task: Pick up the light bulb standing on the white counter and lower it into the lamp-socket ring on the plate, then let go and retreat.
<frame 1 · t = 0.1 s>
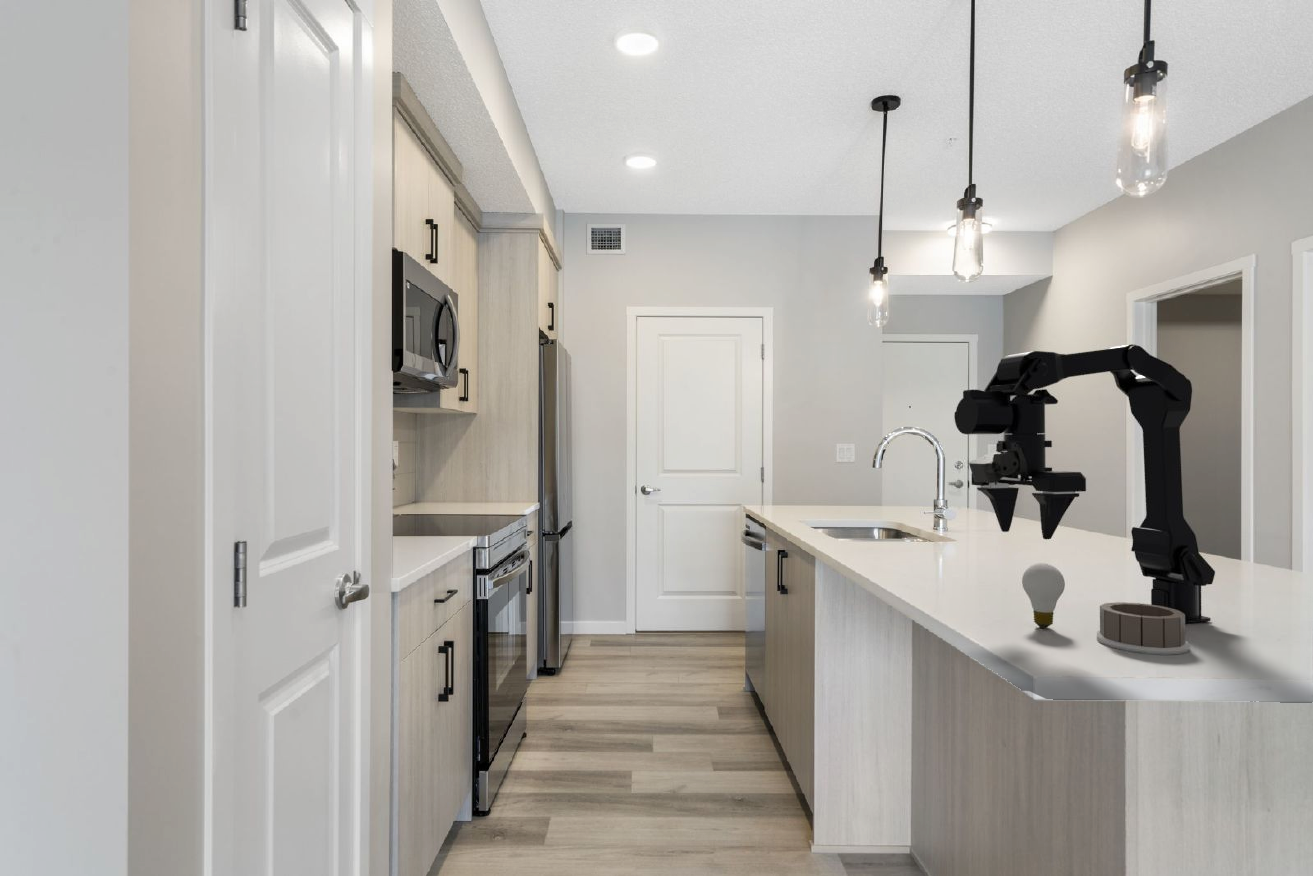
hand: (1025, 535, 115), 14 cm above the countertop, fingers open, 9 cm apart
light bulb: (1043, 629, 116), on the countertop
socket: (1141, 643, 106), on the countertop
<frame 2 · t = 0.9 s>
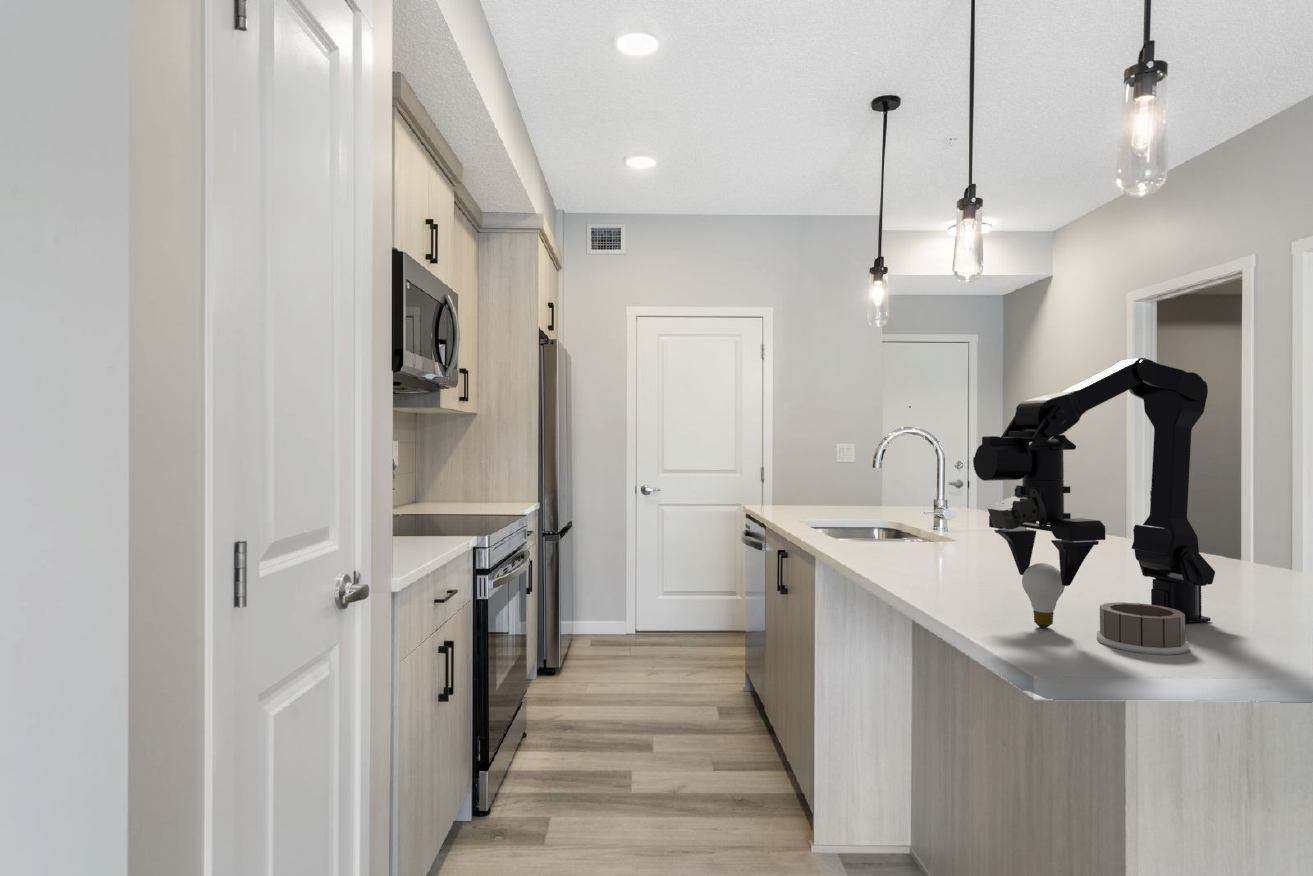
hand: (1043, 580, 116), 7 cm above the countertop, fingers open, 9 cm apart
nothing on the countertop moved.
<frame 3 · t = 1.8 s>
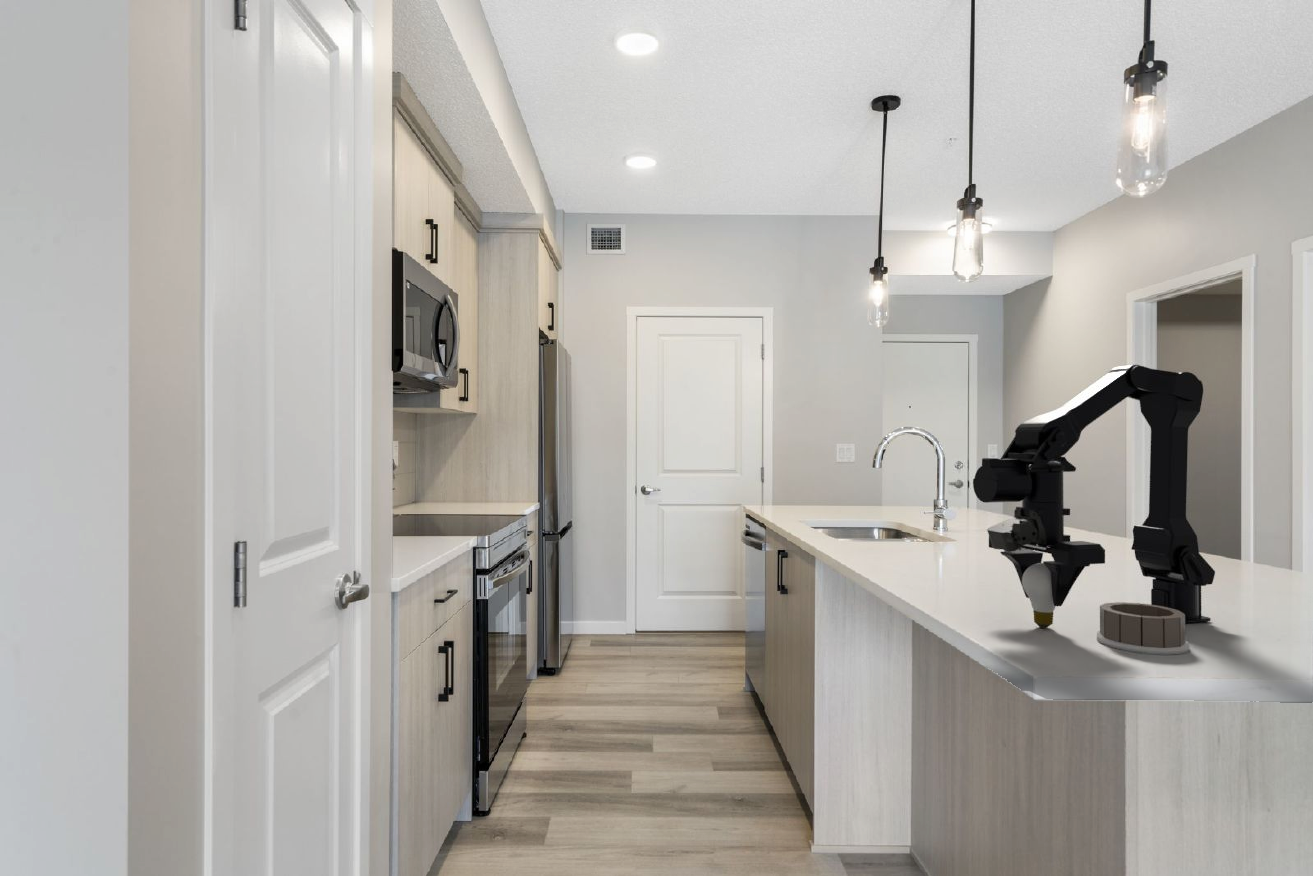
hand: (1043, 601, 116), 4 cm above the countertop, fingers closed on light bulb, 6 cm apart
light bulb: (1043, 629, 116), on the countertop, touching gripper
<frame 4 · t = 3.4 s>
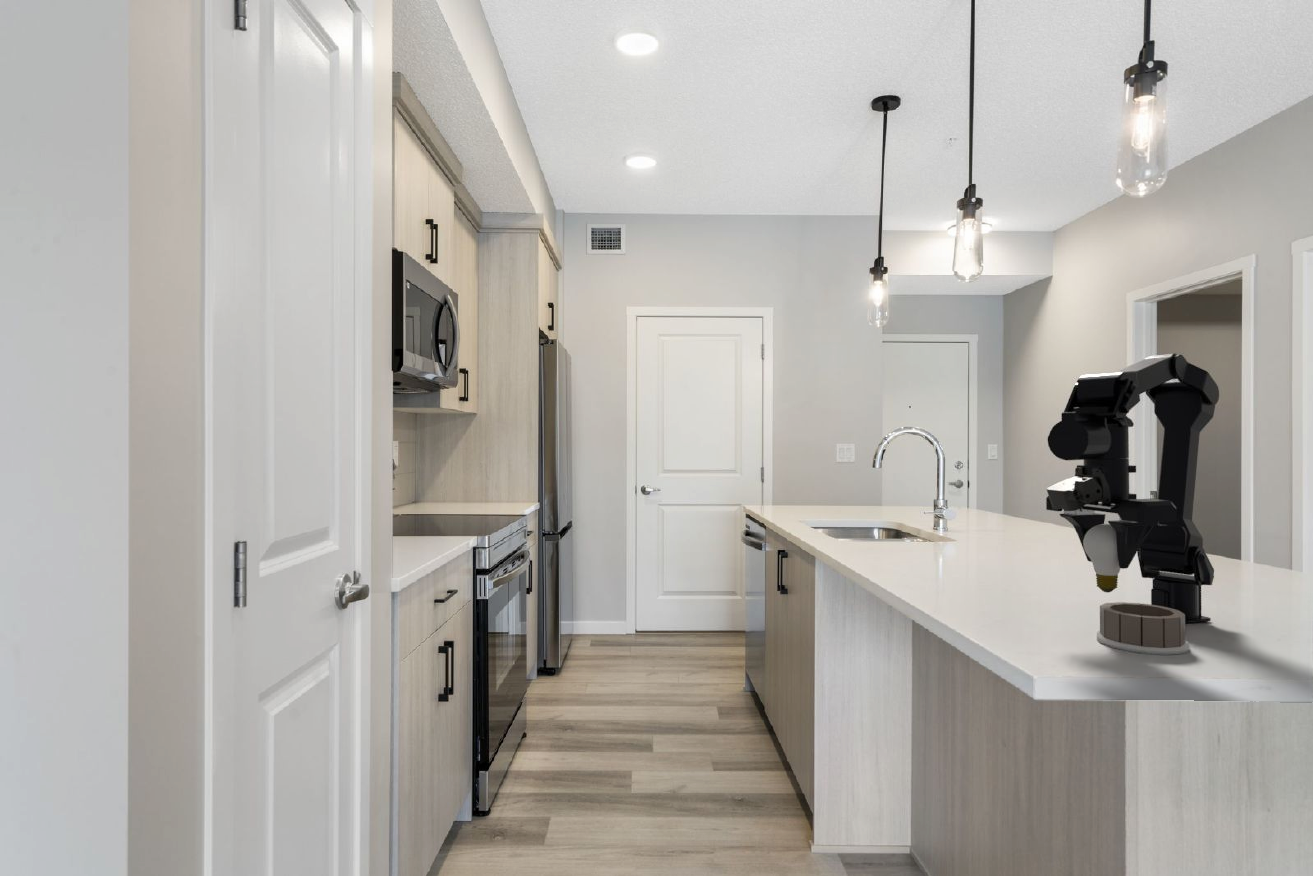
hand: (1107, 564, 109), 11 cm above the countertop, fingers closed on light bulb, 6 cm apart
light bulb: (1107, 593, 109), point 7 cm above the countertop, touching gripper
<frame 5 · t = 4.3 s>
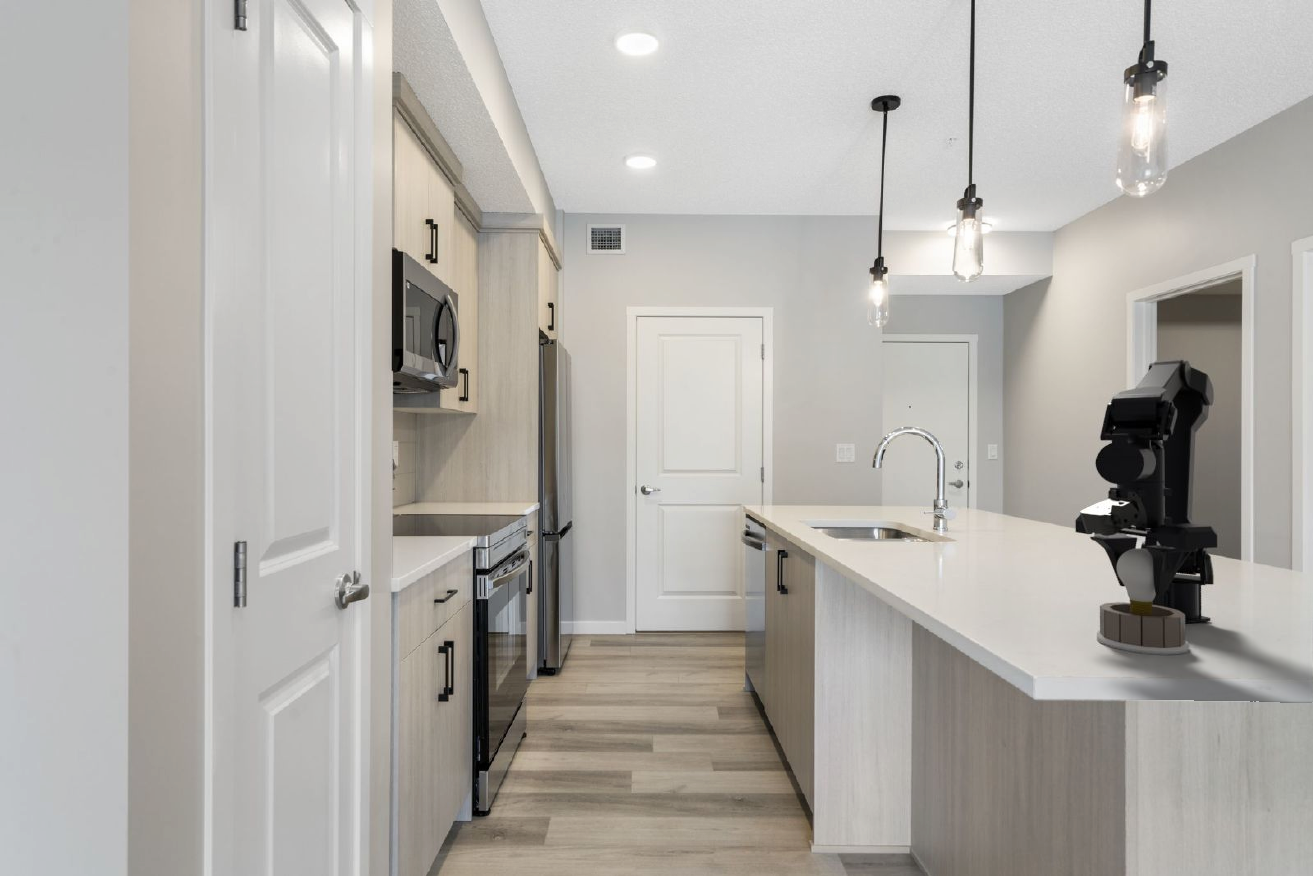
hand: (1141, 590, 106), 8 cm above the countertop, fingers closed on light bulb, 6 cm apart
light bulb: (1141, 619, 106), point 3 cm above the countertop, touching gripper
when the fingers open (6 cm above the countertop, at t = 5.0 s): light bulb drops 1 cm, resting on socket.
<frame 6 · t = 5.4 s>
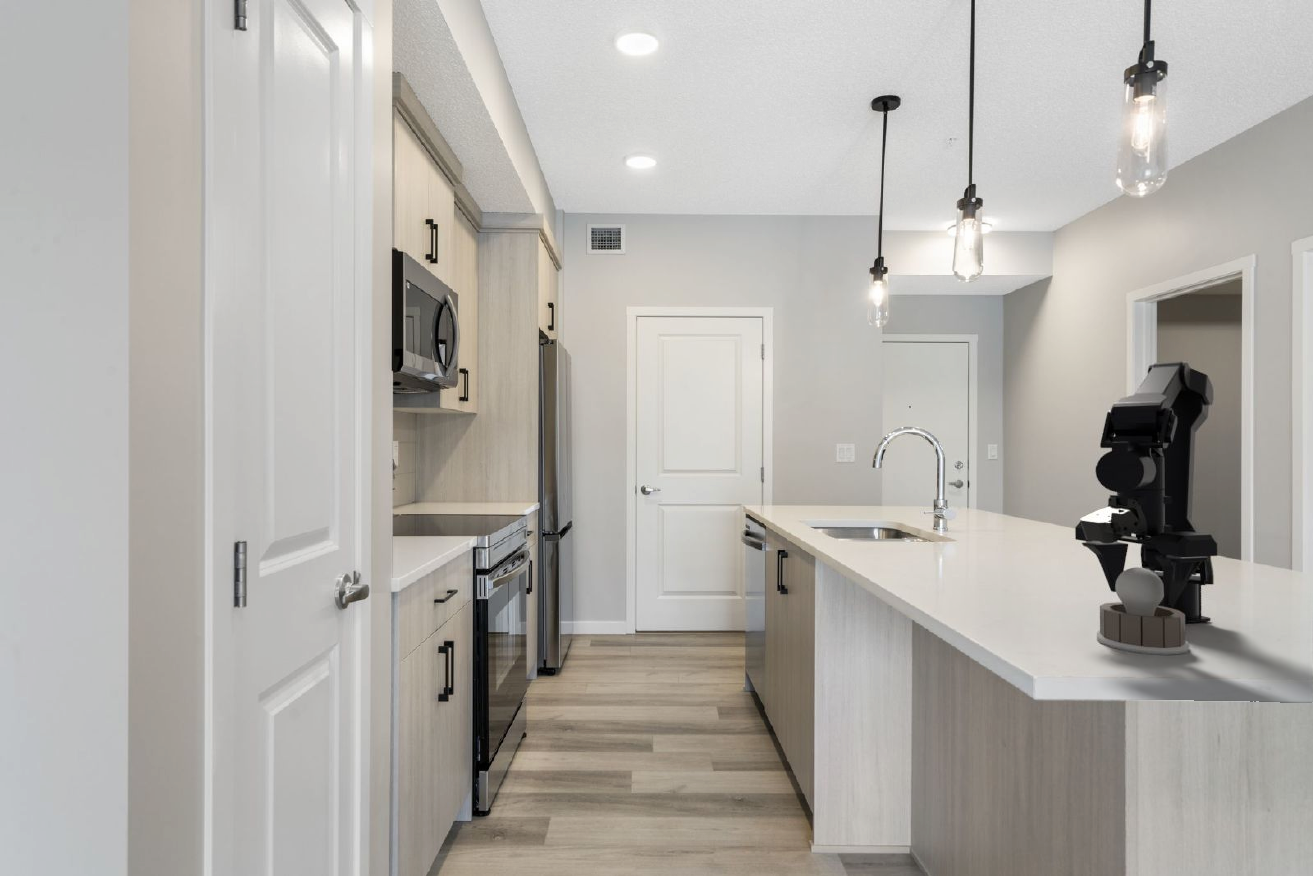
hand: (1141, 598, 106), 6 cm above the countertop, fingers open, 9 cm apart
light bulb: (1140, 639, 106), point 1 cm above the countertop, touching socket
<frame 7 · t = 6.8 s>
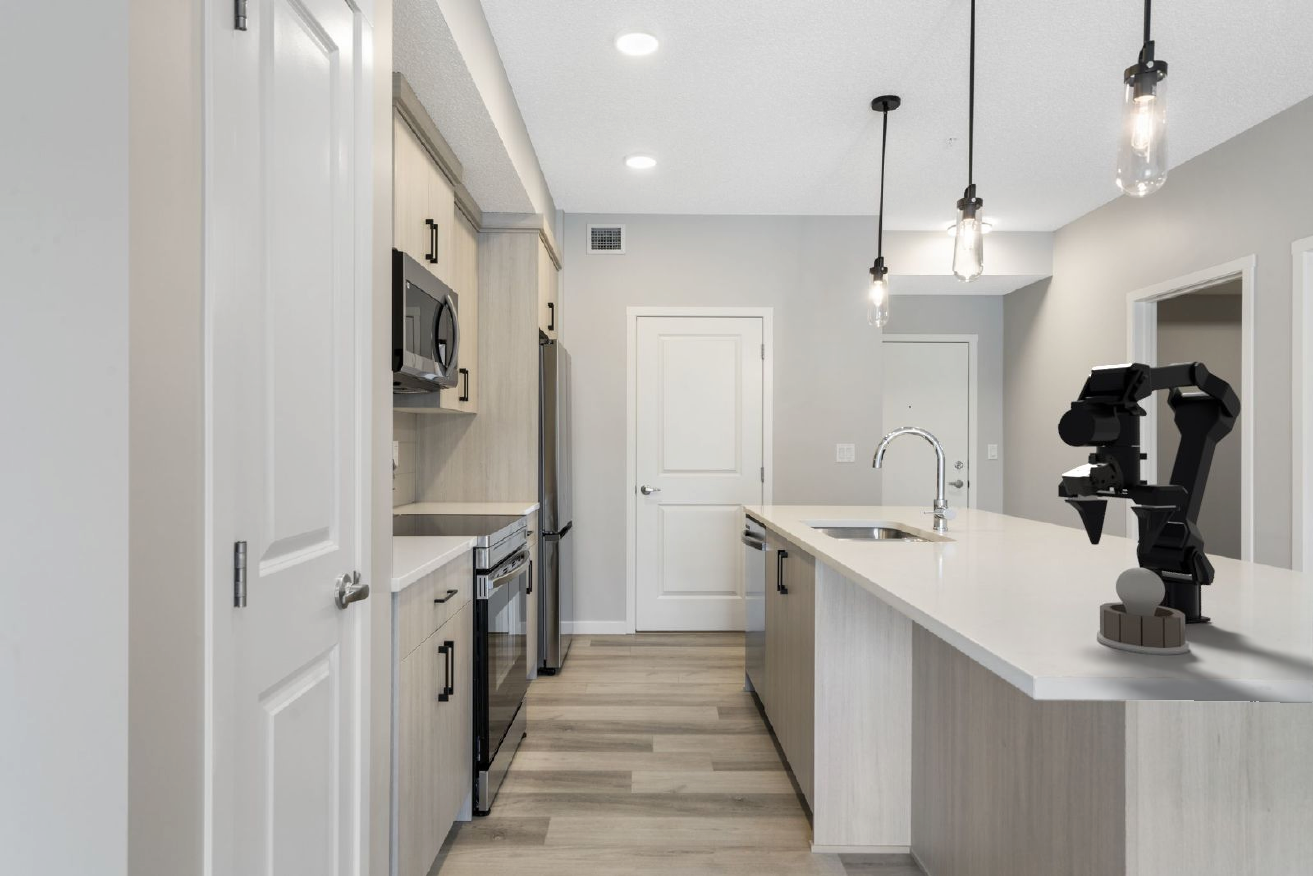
hand: (1118, 548, 114), 12 cm above the countertop, fingers open, 9 cm apart
nothing on the countertop moved.
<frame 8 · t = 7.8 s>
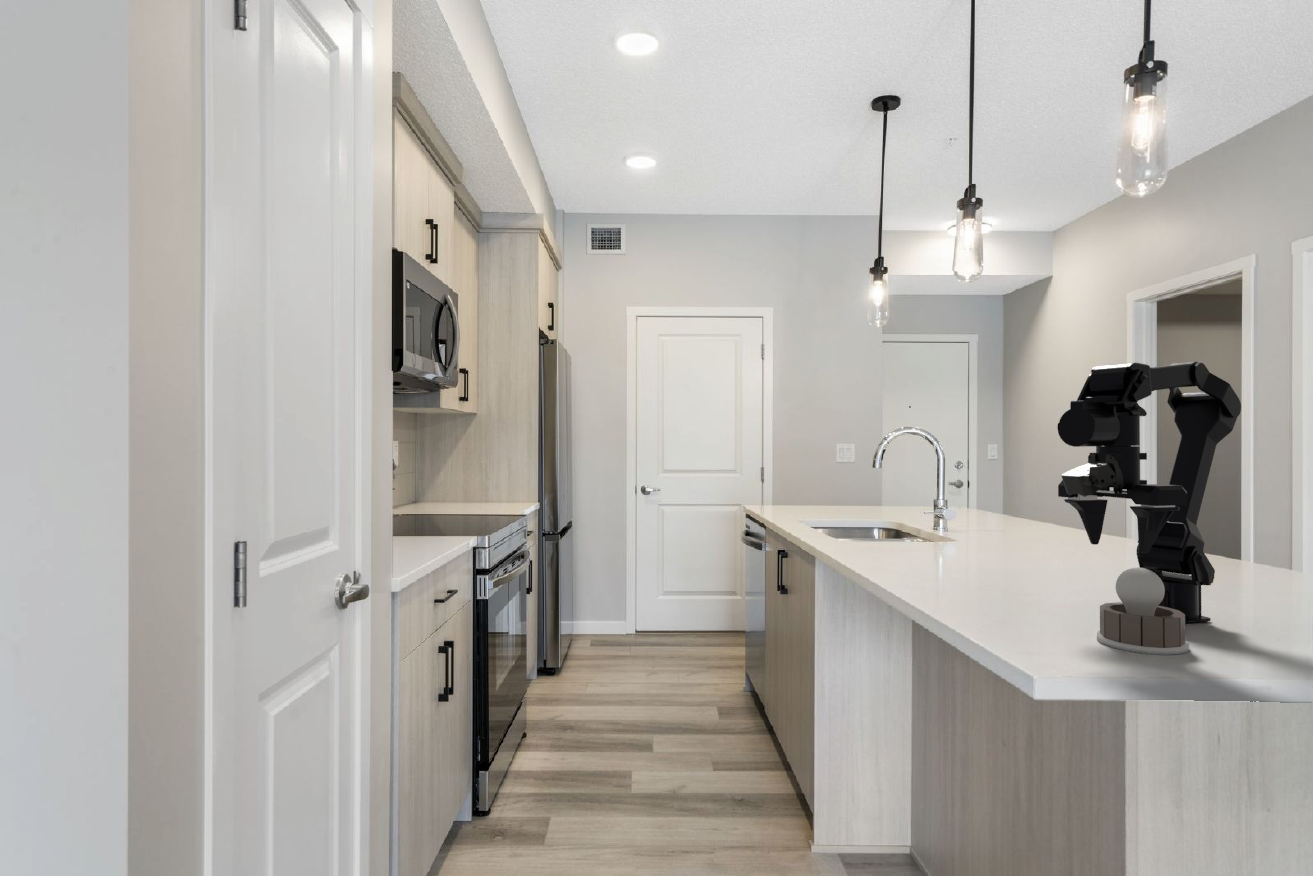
hand: (1118, 548, 114), 13 cm above the countertop, fingers open, 9 cm apart
nothing on the countertop moved.
at the end: light bulb 0.2 cm off-centre on the socket, point 0.6 cm above the socket's base; light bulb touching socket; the gripper is holding nothing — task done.
